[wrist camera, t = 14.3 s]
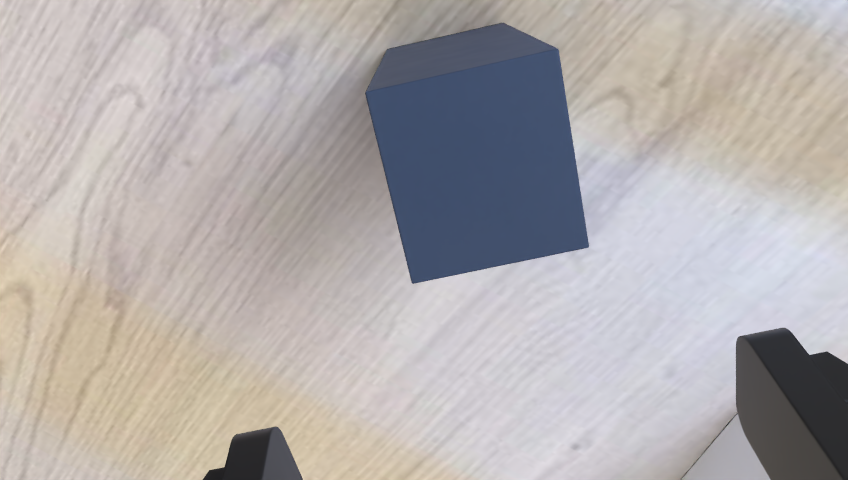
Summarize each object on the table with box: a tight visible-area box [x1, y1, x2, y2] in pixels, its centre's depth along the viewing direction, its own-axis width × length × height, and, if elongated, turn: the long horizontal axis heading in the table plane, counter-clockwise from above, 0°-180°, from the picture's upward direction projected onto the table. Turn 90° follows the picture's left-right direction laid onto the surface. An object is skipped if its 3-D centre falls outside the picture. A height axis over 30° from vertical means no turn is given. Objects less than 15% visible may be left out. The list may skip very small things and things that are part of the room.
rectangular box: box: [365, 23, 589, 284], centre depth 28 cm, size 14×6×6 cm
